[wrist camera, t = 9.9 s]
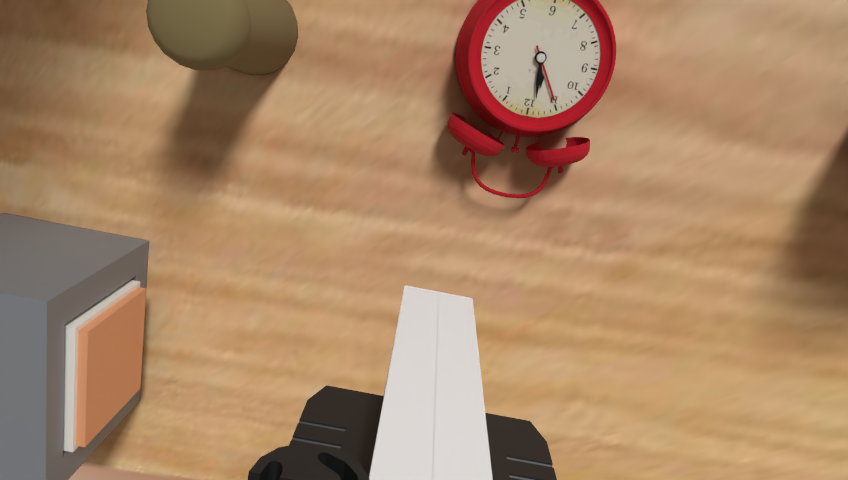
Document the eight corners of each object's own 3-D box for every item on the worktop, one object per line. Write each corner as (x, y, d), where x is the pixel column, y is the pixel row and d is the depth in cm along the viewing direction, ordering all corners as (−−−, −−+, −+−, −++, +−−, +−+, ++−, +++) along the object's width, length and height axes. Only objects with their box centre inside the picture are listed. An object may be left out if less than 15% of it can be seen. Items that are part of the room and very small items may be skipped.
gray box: (6, 376, 49) (-130, 472, 37) (4, 213, 45) (-149, 264, 33) (139, 400, 49) (45, 504, 37) (148, 240, 45) (46, 301, 33)
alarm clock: (652, -37, 35) (600, 212, 36) (617, -1, 42) (574, 210, 42) (479, -71, 35) (432, 180, 36) (470, -30, 41) (430, 183, 42)
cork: (293, 81, 41) (242, 88, 31) (207, 67, 41) (125, 69, 31) (302, -12, 40) (250, -39, 29) (212, -26, 40) (126, -59, 29)
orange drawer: (39, 370, 46) (-41, 431, 39) (40, 262, 44) (-47, 305, 36) (142, 389, 46) (81, 454, 39) (148, 283, 44) (85, 329, 36)
